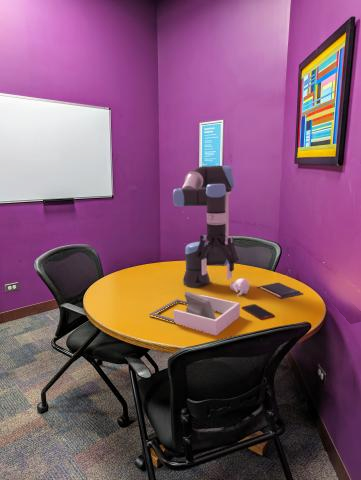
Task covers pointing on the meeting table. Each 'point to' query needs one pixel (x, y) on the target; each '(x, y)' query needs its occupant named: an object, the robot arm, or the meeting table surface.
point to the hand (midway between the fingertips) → (216, 276)
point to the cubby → (206, 324)
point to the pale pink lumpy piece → (240, 286)
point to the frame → (164, 308)
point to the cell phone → (258, 312)
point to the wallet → (280, 290)
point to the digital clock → (199, 306)
